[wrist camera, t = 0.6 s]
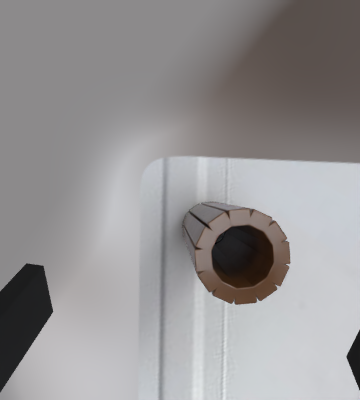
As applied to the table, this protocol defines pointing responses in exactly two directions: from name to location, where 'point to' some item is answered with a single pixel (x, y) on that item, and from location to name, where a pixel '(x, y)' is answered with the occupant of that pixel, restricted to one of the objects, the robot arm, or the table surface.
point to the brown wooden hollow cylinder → (236, 251)
